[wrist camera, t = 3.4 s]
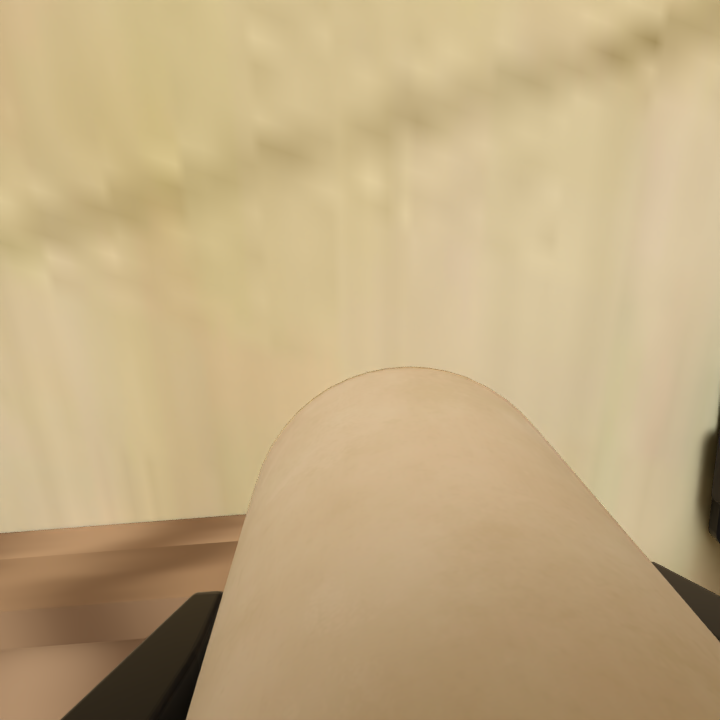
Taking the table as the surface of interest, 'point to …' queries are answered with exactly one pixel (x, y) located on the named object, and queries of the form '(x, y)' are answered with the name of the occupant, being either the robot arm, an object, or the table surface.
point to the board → (95, 601)
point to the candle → (441, 576)
